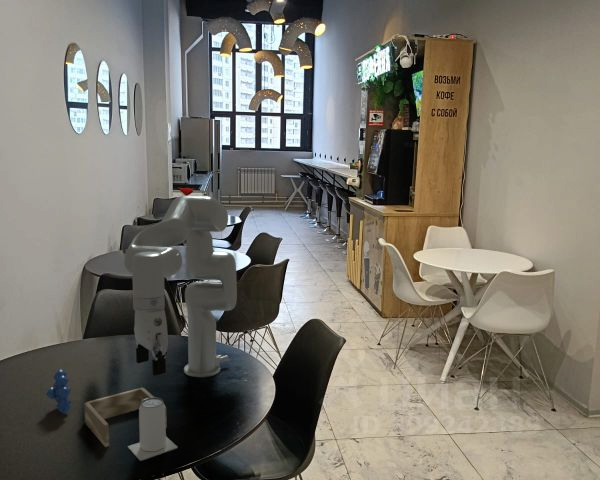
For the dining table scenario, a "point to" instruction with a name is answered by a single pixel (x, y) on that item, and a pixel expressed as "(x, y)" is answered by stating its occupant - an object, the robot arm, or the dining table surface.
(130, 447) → the mat
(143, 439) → the can
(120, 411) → the wooden u-shaped frame
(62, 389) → the grapes
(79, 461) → the dining table surface
